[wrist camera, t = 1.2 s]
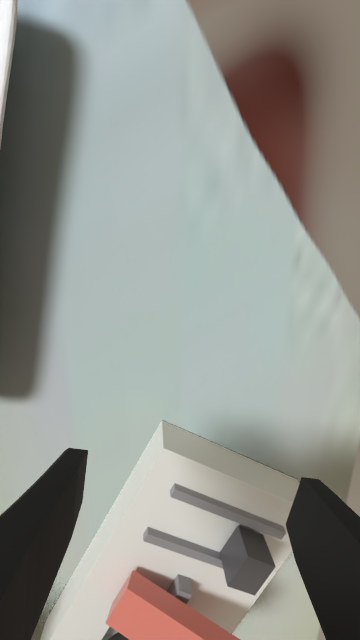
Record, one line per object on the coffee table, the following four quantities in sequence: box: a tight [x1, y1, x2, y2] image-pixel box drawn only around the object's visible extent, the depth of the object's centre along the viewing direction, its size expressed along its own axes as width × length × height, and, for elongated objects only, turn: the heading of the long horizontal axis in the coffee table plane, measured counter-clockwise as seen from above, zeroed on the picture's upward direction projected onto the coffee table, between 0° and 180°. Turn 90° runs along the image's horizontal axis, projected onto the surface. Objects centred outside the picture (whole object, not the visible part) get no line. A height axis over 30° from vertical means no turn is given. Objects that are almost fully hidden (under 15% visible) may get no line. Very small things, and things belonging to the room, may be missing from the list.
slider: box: [220, 525, 276, 596], centre depth 18 cm, size 2×2×2 cm
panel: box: [40, 420, 300, 640], centre depth 21 cm, size 20×12×4 cm, turn 151°
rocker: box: [106, 570, 240, 640], centre depth 18 cm, size 3×8×1 cm, turn 61°
